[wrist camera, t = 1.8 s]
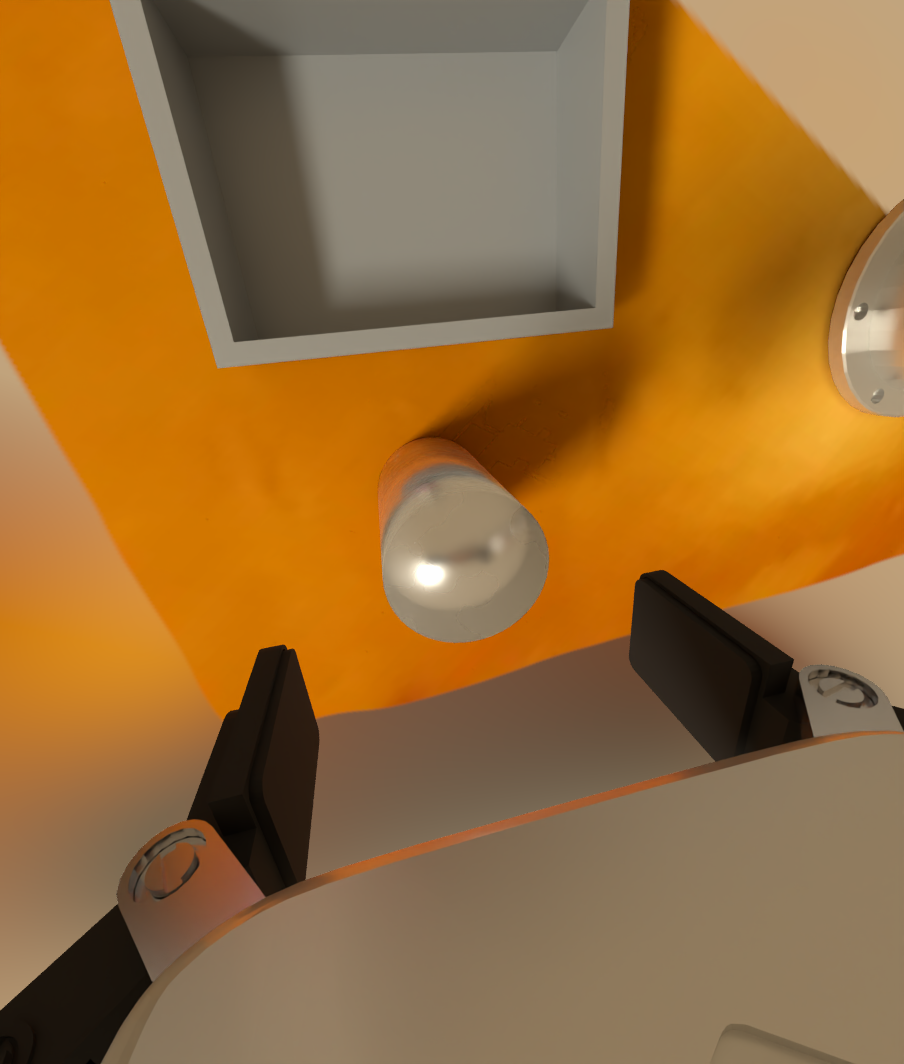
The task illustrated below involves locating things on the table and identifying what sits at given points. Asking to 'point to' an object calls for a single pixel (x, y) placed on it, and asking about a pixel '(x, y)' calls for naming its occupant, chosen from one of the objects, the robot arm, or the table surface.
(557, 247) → the tote
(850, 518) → the table surface
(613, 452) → the table surface
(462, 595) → the tin can
